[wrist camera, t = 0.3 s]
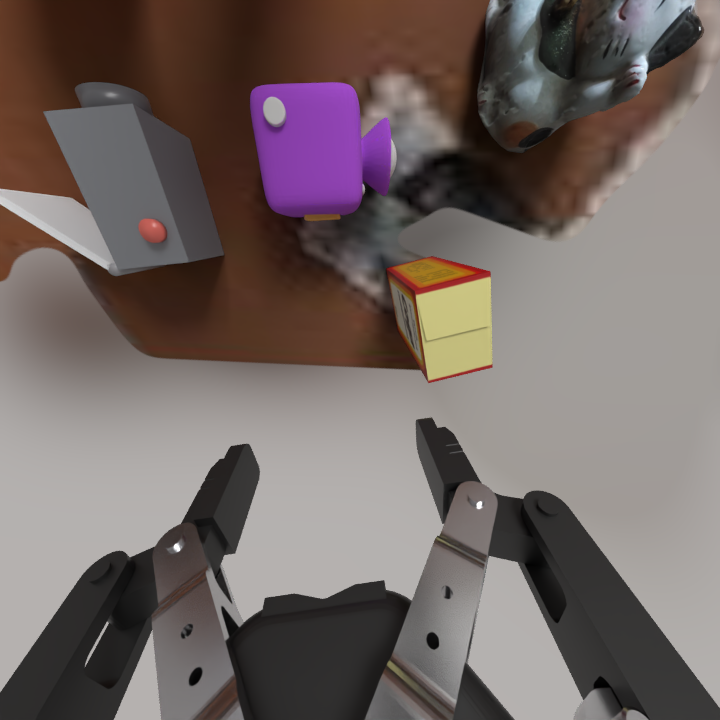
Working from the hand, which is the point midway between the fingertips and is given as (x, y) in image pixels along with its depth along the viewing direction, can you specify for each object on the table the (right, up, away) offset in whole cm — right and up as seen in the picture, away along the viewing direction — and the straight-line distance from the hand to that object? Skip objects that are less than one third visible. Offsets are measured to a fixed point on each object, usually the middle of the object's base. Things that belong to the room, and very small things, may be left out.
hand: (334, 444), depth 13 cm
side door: (-28, +19, +20) cm, 39 cm away
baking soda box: (+9, +14, +26) cm, 31 cm away
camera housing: (-21, +24, +18) cm, 37 cm away
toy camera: (-2, +27, +19) cm, 33 cm away
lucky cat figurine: (+20, +36, +16) cm, 44 cm away
